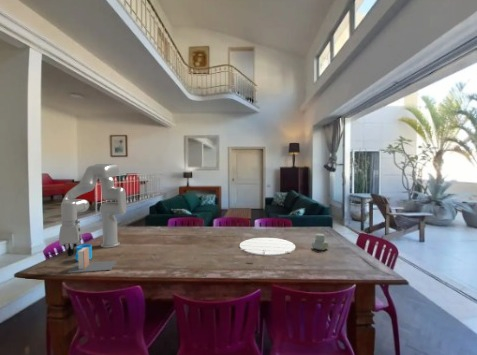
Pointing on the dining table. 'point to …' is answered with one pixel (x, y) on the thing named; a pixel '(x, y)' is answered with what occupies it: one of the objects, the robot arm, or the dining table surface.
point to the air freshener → (319, 242)
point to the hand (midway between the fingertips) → (70, 255)
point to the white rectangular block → (83, 258)
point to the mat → (94, 267)
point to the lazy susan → (267, 246)
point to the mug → (84, 247)
